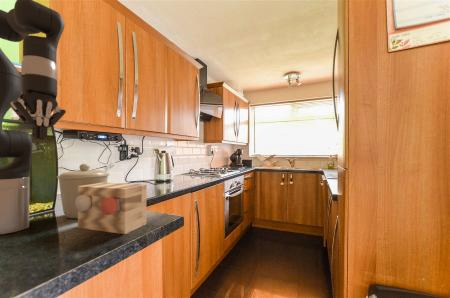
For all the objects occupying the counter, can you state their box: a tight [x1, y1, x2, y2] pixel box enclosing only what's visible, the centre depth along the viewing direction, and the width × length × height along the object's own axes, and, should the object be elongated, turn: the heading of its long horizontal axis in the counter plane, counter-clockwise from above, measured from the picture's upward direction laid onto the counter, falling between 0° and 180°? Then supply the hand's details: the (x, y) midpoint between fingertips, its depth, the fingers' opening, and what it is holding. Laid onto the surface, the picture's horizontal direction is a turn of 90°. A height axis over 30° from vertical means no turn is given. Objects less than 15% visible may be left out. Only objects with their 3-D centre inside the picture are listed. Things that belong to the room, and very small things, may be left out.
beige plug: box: [75, 194, 92, 211], centre depth 74 cm, size 5×9×5 cm, turn 162°
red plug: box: [101, 197, 120, 215], centre depth 69 cm, size 5×9×5 cm, turn 162°
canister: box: [56, 163, 111, 219], centre depth 88 cm, size 18×18×21 cm
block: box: [77, 182, 147, 235], centre depth 74 cm, size 20×10×14 cm, turn 72°
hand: (39, 140), depth 59 cm, fingers closed
